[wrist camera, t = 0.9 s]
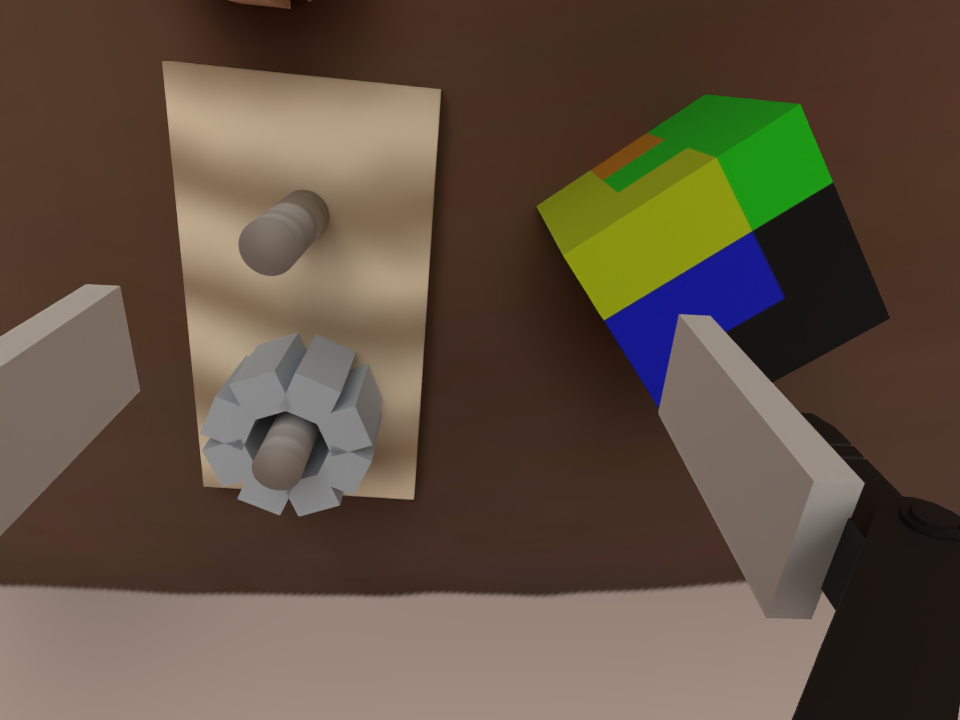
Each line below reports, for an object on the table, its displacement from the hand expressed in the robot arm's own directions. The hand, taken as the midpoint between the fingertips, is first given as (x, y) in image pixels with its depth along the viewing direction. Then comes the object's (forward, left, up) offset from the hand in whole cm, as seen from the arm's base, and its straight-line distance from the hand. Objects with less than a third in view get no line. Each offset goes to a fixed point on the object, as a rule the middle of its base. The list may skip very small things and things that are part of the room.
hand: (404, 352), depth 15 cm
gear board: (+7, -7, -20) cm, 22 cm away
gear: (+12, -7, -19) cm, 24 cm away
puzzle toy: (+1, +12, -21) cm, 24 cm away
